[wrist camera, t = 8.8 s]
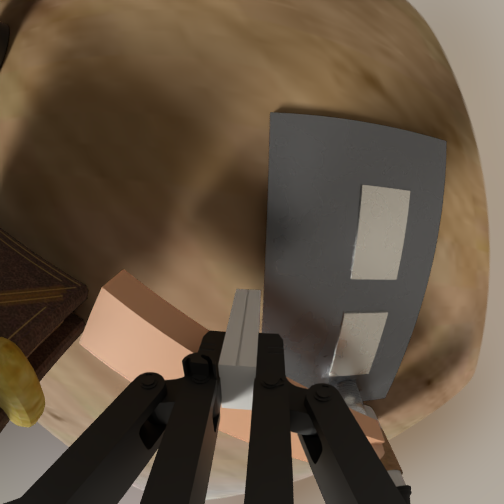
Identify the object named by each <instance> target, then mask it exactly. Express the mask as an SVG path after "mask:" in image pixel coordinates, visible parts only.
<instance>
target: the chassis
mask: <svg viewBox="0 0 504 504" xmlns="http://www.w3.org/2000/svg"><path fill="white" fill-rule="evenodd" d="M445 169H446V141H444V140H441V139H437V138H434V137H430V136H426V135H423V134H419V133H415V132H411V131H407V130H402V129H398V128H393V127H388V126H383V125H378V124H373V123H367V122H361V121H355V120H348V119H341V118H334V117H325V116H316V115H305V114H291V113H273V112H270V135H269V171H268V202H267V229H266V254H265V277H264V299H263V319H262V333H274V334H279V335H280V336H281V338H282V339H283V344H284V359H285V374H286V377H288V378H290V379H292V380H294V381H295V382H297V383H299V384H301V385H303V386H305V387H307V388H309V387H311V386H312V385H315V384H318V383H325V384H330V385H332V386H334V387H335V388H336V389H337V390H338V391H339V392H340V394H341V396H342V397H343V399H344V401H345V402H346V404H347V406H348V407H349V408H350V409H352V410H355V411H357V412H359V413H361V414H364V415H366V416H367V414H366V411H365V408H364V405H363V402H362V401H367V400H375V399H382V398H385V397H386V395H387V393H388V391H389V389H390V386H391V384H392V382H393V380H394V378H395V375H396V373H397V371H398V368H399V366H400V364H401V361H402V359H403V356H404V354H405V351H406V349H407V346H408V343H409V341H410V338H411V335H412V332H413V329H414V326H415V324H416V320H417V317H418V314H419V311H420V308H421V305H422V301H423V298H424V294H425V291H426V287H427V283H428V279H429V275H430V271H431V267H432V262H433V258H434V253H435V248H436V243H437V237H438V231H439V225H440V218H441V211H442V203H443V194H444V183H445Z"/></svg>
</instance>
